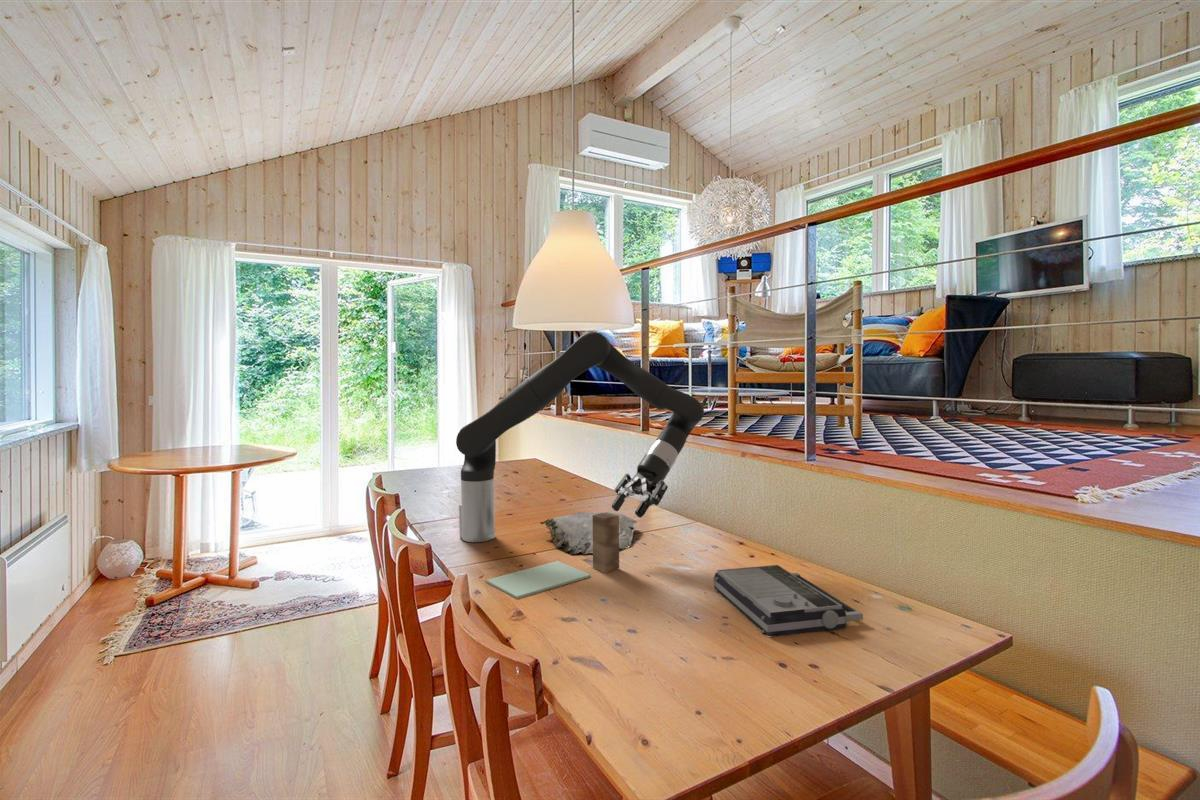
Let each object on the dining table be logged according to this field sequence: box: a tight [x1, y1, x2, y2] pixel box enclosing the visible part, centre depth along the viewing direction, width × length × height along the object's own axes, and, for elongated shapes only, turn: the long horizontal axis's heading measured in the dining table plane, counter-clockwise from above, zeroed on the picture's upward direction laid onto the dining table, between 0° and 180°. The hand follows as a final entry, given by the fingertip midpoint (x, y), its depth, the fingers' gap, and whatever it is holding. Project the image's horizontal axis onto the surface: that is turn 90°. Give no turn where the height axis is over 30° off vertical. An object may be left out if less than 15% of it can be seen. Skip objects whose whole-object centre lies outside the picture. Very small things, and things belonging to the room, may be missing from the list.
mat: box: [485, 560, 591, 600], centre depth 135 cm, size 20×13×1 cm, turn 130°
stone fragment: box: [540, 511, 638, 556], centre depth 167 cm, size 25×29×6 cm
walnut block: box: [592, 511, 620, 573], centre depth 142 cm, size 4×4×13 cm
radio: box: [713, 564, 864, 637], centre depth 118 cm, size 24×5×20 cm
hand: (625, 512), depth 146 cm, fingers open, 8 cm apart
